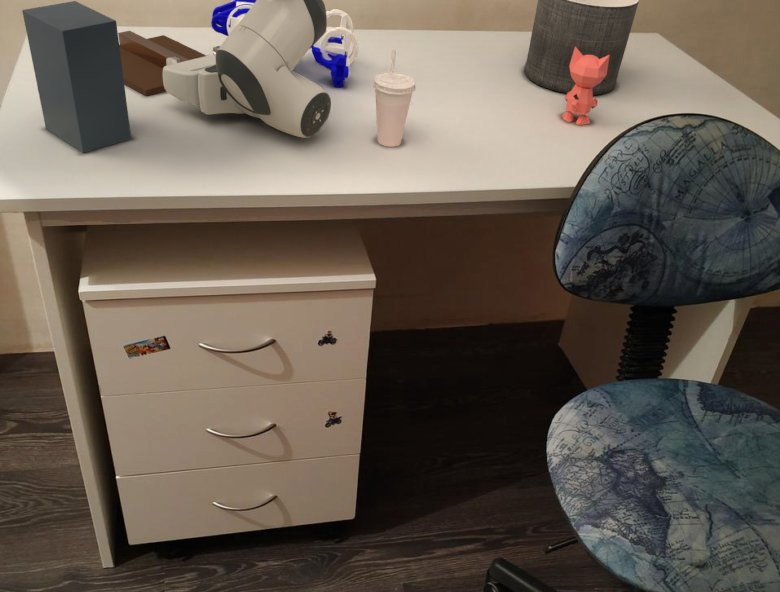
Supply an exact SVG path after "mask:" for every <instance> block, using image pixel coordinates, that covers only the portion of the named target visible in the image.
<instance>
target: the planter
mask: <svg viewBox="0 0 780 592" xmlns="http://www.w3.org/2000/svg"><path fill="white" fill-rule="evenodd" d="M639 2H640V0H537V4H536V9H535V15H534V18H533V19H534V20H533V24H532V30H531V36H530V40H529V47H528V52H527V57H526V61H525V65H524V70H523V72H524V75H525V76H526V78H528V79H529V80H530V81H531V82H533V83H535V84H537V85H538V86H541V87H542V88H545V89H548V90H551V91H555V92H558V93H564V94H567V93H568V92H570V91H571V90H572V89H573V87H574V86H575V84H576V83H575V82H574V80H573V79H572V77H571V73H570V67H569V65H570V62H571V58H572V55H573V52H574V48H575V47H576V48H577V49H578V50H579V51H580V52H581V54H582V55H594V56H596V57H598V59H601V58H603V57H606V56H608V55H610V57H609V63H608V69H607V75H606V76H605V78H604V79H603V80H605V81H606V82H605V81H603V80H602V82H601V83H599V84H597V85H596V86H594V87H592V92H593V96H597V95H604V94H607V93H609V92H611V91H613V90H614V89H615V88H616V85H617V81H618V77H619V73H620V69H621V65H622V63H623V58H624V55H625V53H626V49H627V45H628V42H629V39H630V34H631V32H632V31H631V30H632V27H633V25H634V20H635V16H636V13H637V9H638V5H639Z"/></svg>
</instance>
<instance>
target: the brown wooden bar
mask: <svg viewBox="0 0 780 592" xmlns="http://www.w3.org/2000/svg"><path fill="white" fill-rule="evenodd" d="M118 40H119V45H120V47H122V48H124V49H126V50H128V51H130V52H132V53H133V54H135V55H137V56H139V57H141V58H143V59H145V60H147V61H149V62H151V63H153V64H155V65H157V66H159V67H161V68H164V67H165V66H167V63H166V59H167V58H170V57H176V58H179V59H180V62H184V61H188V59H186V58H184V57H182V56H180V55H178V54H176V53H174V52H172V51H170V50H168V49H166V48H164V47H162V46H160V45H158V44H156V43H154V42H152V41H150V40H148V38H146V37H144V36H141V35H139V34H137V33H136V32H134V31H132V30H126V31H121V32H118Z"/></svg>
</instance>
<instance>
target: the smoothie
mask: <svg viewBox="0 0 780 592" xmlns="http://www.w3.org/2000/svg"><path fill="white" fill-rule="evenodd" d="M396 53H397V51H396V50H395V49H393V50H391V59H390V70H389V72H384V73H380V74H377V75H375V77H374V78H373V83H372V85H373V88H374V89H375V108H376V110H375V111H376V134H377V135H376V137H377V143H378V144H379V145H382V146H384V147H389V148H390V147H394V148H395V147H398V146H401V144H402V141H403V140H402V139H403V135H404V130H405V127H406V121H407V119H408V118H407V117H408V113H409V110H410V109H409V108H410V105H411V101H412V96H413V93H414V92H415V91H416V81H415V79H414V78H412V77H411V76H409V75H406V74H403V73H397V72H395V65H396V64H395V63H396Z"/></svg>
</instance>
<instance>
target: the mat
mask: <svg viewBox="0 0 780 592" xmlns="http://www.w3.org/2000/svg"><path fill="white" fill-rule="evenodd" d="M147 39H148V40H150V41H152V42H154V43H156V44H158V45H160V46H162V47H164V48H166V49H168V50H170V51H172V52H174V53H176V54H178V55H180V56H182V57H184V58H186V59H188V60H192V59H196V58H200V57H204V56H207V55H206V54H204V53H202V52H200V51H198V50H196V49H194V48H192V47H190V46H188V45H185V44H183V43H181V42H179V41H177V40H175V39H173V38H170V37H169V36H166V35H165V34H164V35H158V36H153V37H148V38H147ZM119 47H120V44H119ZM120 55H121V63H122V71H123V78H124V86H126V87H129V88H130V89H132V90H134V91H136V92H138V93H140V94H141V95H143V96H145V97H149V96H153V95H157V94H160V93H163V92H167V91H166V90H165V88H164V84H163V68H161V67H159V66H157V65H155V64H153V63H151V62H149V61H147V60H145V59H143V58H141V57H139V56H137V55H135V54H133V53H132V52H130V51H128V50H126V49H124V48H122V47H120Z"/></svg>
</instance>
